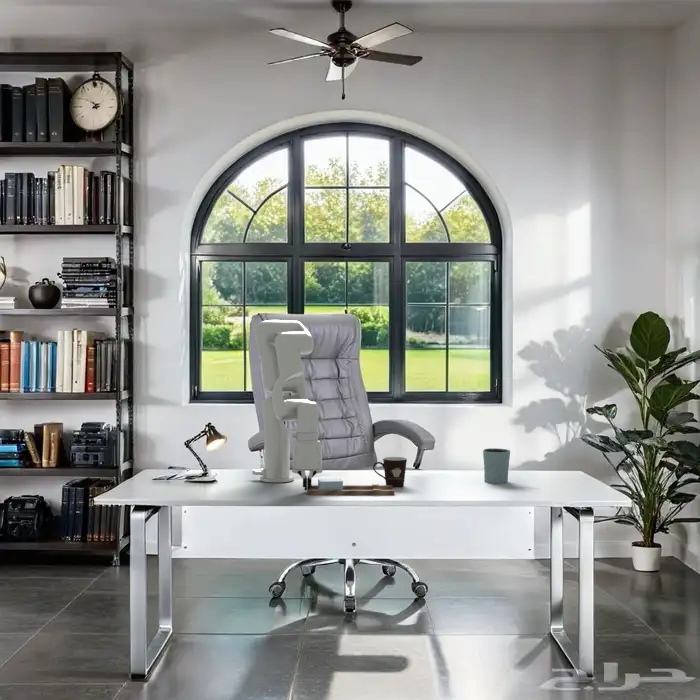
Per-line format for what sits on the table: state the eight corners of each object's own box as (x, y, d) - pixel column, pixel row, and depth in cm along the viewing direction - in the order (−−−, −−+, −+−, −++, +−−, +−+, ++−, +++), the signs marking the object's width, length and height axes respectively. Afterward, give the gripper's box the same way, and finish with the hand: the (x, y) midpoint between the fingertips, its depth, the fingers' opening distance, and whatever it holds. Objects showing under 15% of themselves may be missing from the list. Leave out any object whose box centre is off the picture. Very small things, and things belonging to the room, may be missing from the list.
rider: (319, 494, 312) (319, 481, 312) (318, 491, 318) (318, 478, 318) (342, 494, 313) (342, 481, 313) (340, 491, 319) (340, 478, 319)
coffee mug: (409, 484, 331) (409, 457, 331) (403, 488, 323) (403, 460, 323) (379, 482, 335) (379, 455, 335) (371, 486, 327) (372, 459, 327)
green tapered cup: (500, 479, 344) (500, 447, 344) (515, 483, 335) (515, 451, 335) (477, 480, 340) (477, 449, 340) (492, 485, 331) (492, 452, 331)
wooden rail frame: (306, 494, 310) (307, 489, 310) (307, 489, 321) (307, 484, 321) (394, 495, 311) (394, 489, 311) (392, 489, 321) (392, 484, 321)
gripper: (285, 438, 311) (285, 491, 311) (328, 438, 311) (328, 491, 312) (286, 435, 318) (286, 487, 319) (328, 435, 319) (328, 487, 319)
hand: (307, 489), depth 315 cm, fingers closed
